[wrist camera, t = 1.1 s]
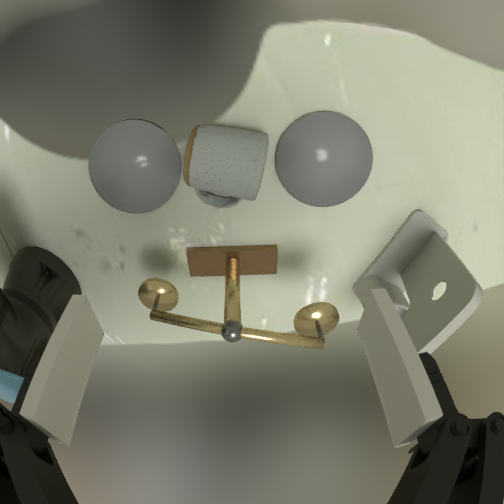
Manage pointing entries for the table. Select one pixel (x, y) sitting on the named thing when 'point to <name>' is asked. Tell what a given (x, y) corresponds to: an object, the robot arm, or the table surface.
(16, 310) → the robot arm
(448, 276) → the phone holder
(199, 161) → the ceramic mug
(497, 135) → the table surface
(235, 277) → the balance
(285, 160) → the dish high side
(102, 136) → the dish low side
